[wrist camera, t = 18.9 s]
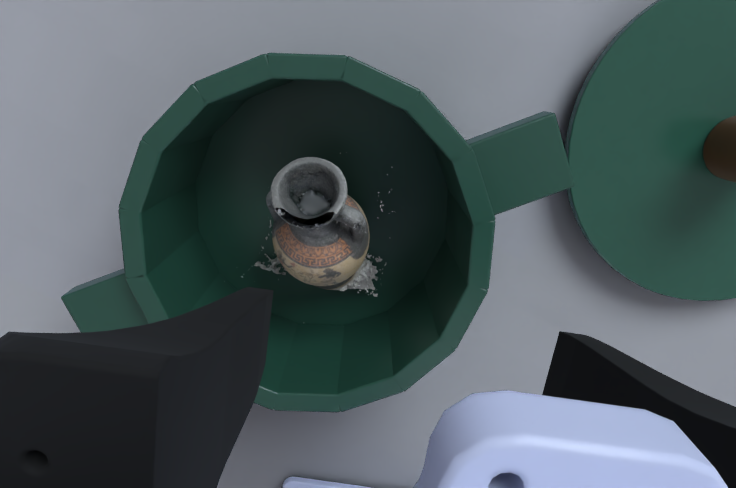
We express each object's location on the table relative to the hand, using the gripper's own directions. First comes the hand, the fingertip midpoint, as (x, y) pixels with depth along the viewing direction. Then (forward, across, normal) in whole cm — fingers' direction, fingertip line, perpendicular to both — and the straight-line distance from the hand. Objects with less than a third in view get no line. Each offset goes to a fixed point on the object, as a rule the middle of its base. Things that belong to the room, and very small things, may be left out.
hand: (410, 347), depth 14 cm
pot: (+10, +3, -1) cm, 10 cm away
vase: (+10, +3, -1) cm, 10 cm away
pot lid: (+9, -12, -6) cm, 16 cm away
